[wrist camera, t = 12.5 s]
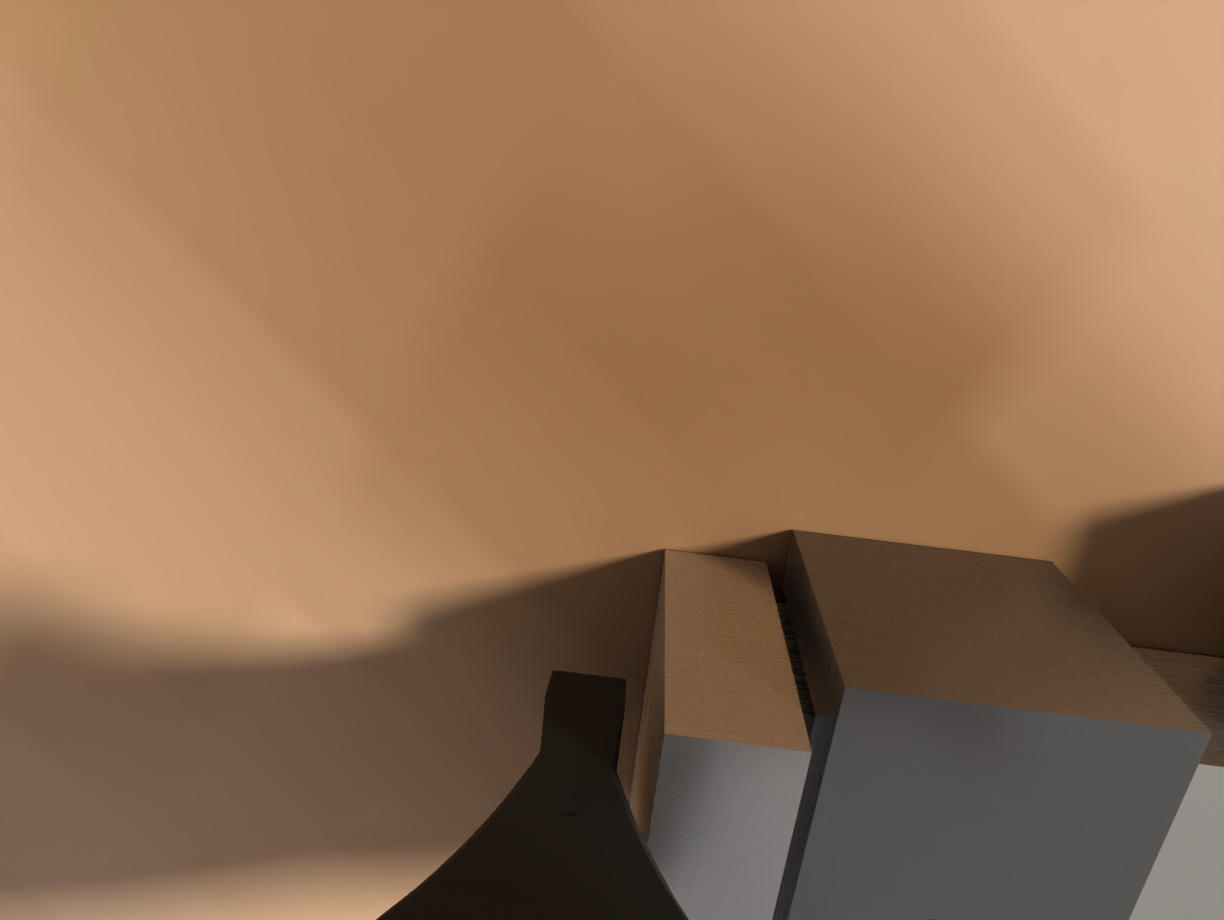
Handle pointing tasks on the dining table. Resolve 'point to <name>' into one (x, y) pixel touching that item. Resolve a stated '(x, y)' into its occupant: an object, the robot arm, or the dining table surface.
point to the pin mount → (973, 741)
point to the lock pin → (780, 751)
